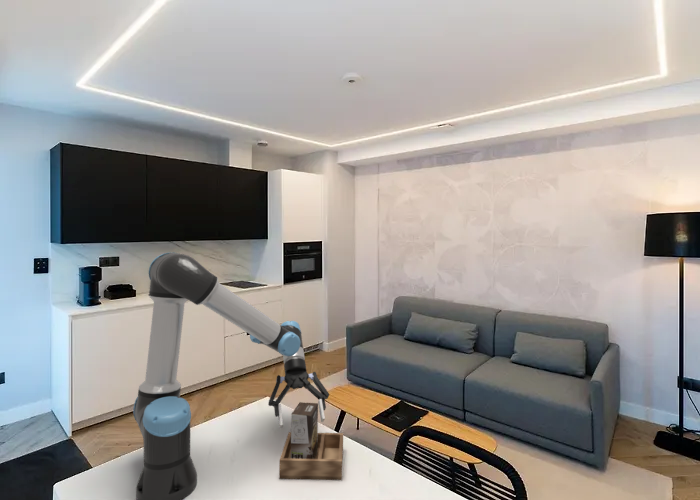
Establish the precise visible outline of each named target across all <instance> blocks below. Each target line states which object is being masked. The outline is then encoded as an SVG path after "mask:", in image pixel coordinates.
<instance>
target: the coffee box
mask: <svg viewBox="0 0 700 500" xmlns="http://www.w3.org/2000/svg"><path fill="white" fill-rule="evenodd" d="M290 415H291V416H290V421H291V423H290V432H291V458H293V459H315V457H316V455H317V448H318V433H319V431H318V430H319V427H318V426H319V424H318V423H319V419H318V418H319V405H318V402H317V403H316V402H301V401H299V403H297V405H296V407H295V408H294V410H293V411H292V413H291V414H290Z"/></svg>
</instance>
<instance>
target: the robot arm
mask: <svg viewBox="0 0 700 500" xmlns="http://www.w3.org/2000/svg"><path fill="white" fill-rule="evenodd" d="M148 277H149V280H150V282H149V293H148V297H149V298H150V299H151V300H152V302H153V305H152V306H153V307H152V308H153V309H152V316H151V317H152V318H151V325H150V335H149V344H148V353H147V363H146V372H145V377H144V378H145V380H144V381H143V382H142V383H141V384H139V385H138V389H137V390H138V393H137V396H136V399H135V400H134V404H133V409H132V410H133V411H132V412H133V418H134V420H135V422H136V423H137V425H138V429H139V431H140V433H141V435H142V439H143V440H142V441H143V466H142V469H141V472H140V475H139V478H138V481H137V484H136V487H135V493H136V494H135V497H136V498H135V499H136V500H184V499H185V498H186V497H188V496H189V495H190V494H191V493H192V492H194V490H195V488H196V487H197V483H198V473H197V469H196V468H195V464H194V462H193V459H192V457H191V419H192V412H191V407H190V405H191V404H189V402H188V401H187V399H185V398H183V397H181V390H182V389H181V388H182V384H181V383H180V382H179V381H178V380H177V376H178V367H179V357H180V356H179V355H180V349H181V348H180V347H181V338H182V330H183V320H184V313H185V312H184V311H185V303H186V302H187V301H190V302H191V303H193V304H195V306H200V305H203V306H205V307H206V308H207V309H209V310H211V311H212V312H214V313H216V314H217V315H219V316H220V317H222V318H223V319H225V320H227V321H228V322H230V323H232V324H233V325H235V326H237V327H238V328H239V329H241V330H242V331H244V332H246V333H247V334H249V338H250V341H251V342H252V343H255V344H257V345H264V346H266V347H268V348H270V349H271V350H274V351H275V352H277V353H278V354H280V355H282V357H283V358H282V359H283V364H284V365H283V366H284V367H283V368H284V374H285V375H284V376H281V375H279V374H278V375H277V376H276V380H275V385H274V387H273V390H272V392H271V395H270V398H269V399H268V404H267V405H268V407H273V408H274V409H273V410H274V417H276V418H278V424H279V425H278V426H279V429H282V428H283V425H284V422H283V414H282V405H281V402H282V400H283V399H284V398H285V396H286V395H287V393H288V392H289V391H290V389H292V390H296V389H302V388H304V389H305V390H307V391H309V392H310V393H311V394H312V395H313V396H314V397H315V398H316V399H317V400H318V402H317V403H318V413H319V415H320V422H321V423H323V422H324V421H325V419H326V416H325V412H324V411H325V410H326V409H327V406H326V400H327V399H328V398H329V396H330V392H328V390H327V389H326V387H325V386H324V384H323V383H322V382H321V380H320V379H319V378H318V375H317V372H316V371H313V372H312V373H308V371H307V366H306V365H307V364H306V360H305V359H306V356H305V351H304V345H303V336H302V331H301V330H302V329H301V326H300V324H299V322H297V321H296V320H290V321H289V320H287V321H284V322H282V323H281V324H280V323H278V321H277V322H276V320H274V319H272V318H271V317H270V316H268V315H267V314H265V313H264V312H262V311H261V310H259V309H257V308H256V307H255V306H253V304H251V303H249V302H247V301H246V300H245V299H243V298H242V297H240V296H239V295H238V294H236V293H234V292H233V291H231V290H230V289H229V288H228V287H226V286H224V285H223V284H222V283H220V282H219V277H218V276H216V275H215V274H213V273H212V272H211V271H209V270H208V269H207V268H205V267H204V266H203V265H202V264H201V263H200V262H198V261H197V260H196V259H194V258H193V257H192V256H190V255H186V254H183V253H179V252H178V253H177V252H174V251H173V252H170V251H169V252H166V253H162V254H160V255H158V256H156V257H155V258H154V259H153V260H152V261H151V263H150V265H149V268H148ZM309 379H310V380H311V381H312V382H313V383H314V385H315V386H314V385H313V384H311V382H310V381H309ZM283 382H284V383H286V385H285V387H284V388H283V390H282V391H281V392H280V394H279V396H278V397H277V398H276V395H277V394H278V392H279V391H278V390H279V388H280V385H281V384H282V383H283ZM275 398H276V400H275Z"/></svg>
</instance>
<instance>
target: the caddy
mask: <svg viewBox="0 0 700 500" xmlns="http://www.w3.org/2000/svg"><path fill="white" fill-rule="evenodd" d="M287 433H288V434H287V436H286V440H285V443H284V445H283V449H282V451H281V454H280V458H279V466H278V467H279V470H278V471H279V473H278V474H279V475H278V476H279V477H278V479H279V480H310V481H311V480H316V481H317V480H318V481H319V480H320V481H342V479H343V476H342V475H343V461H344V459H343V458H344V432H318V448H317V455H316V457H315V459H293V458H291V431H290V432H289V431H288V432H287Z"/></svg>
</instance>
